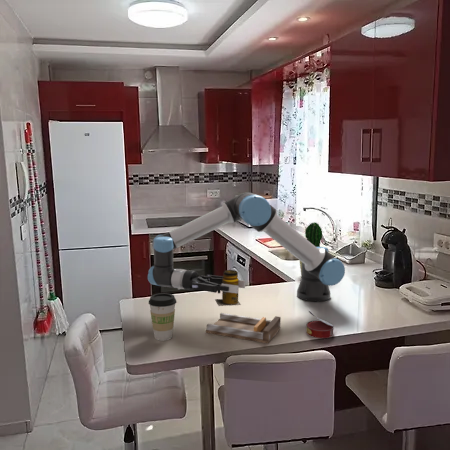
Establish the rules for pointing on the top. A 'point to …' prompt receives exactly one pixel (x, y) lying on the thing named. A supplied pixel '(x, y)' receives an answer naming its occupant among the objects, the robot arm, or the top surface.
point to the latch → (260, 325)
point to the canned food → (319, 328)
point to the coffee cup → (162, 315)
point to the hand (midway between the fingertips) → (241, 287)
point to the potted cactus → (313, 235)
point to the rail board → (244, 328)
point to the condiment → (228, 297)
